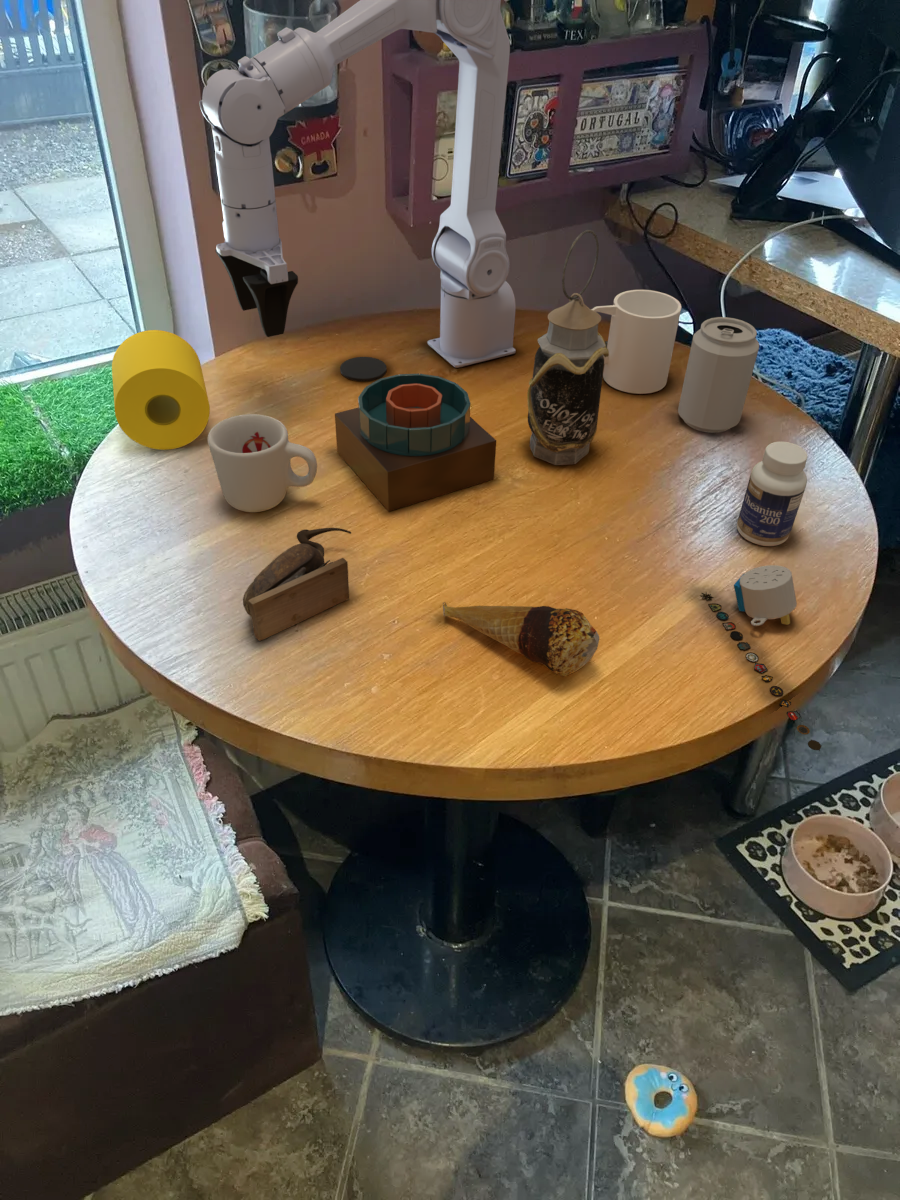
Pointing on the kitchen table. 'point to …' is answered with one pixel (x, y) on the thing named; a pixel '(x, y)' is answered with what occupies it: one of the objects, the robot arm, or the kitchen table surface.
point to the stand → (415, 464)
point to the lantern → (567, 380)
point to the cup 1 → (256, 461)
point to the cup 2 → (640, 340)
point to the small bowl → (414, 397)
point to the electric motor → (766, 594)
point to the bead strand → (761, 670)
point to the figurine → (296, 586)
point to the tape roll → (159, 390)
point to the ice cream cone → (535, 633)
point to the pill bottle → (773, 495)
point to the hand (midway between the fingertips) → (262, 320)
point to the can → (718, 374)
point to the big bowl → (414, 438)
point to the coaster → (363, 369)
